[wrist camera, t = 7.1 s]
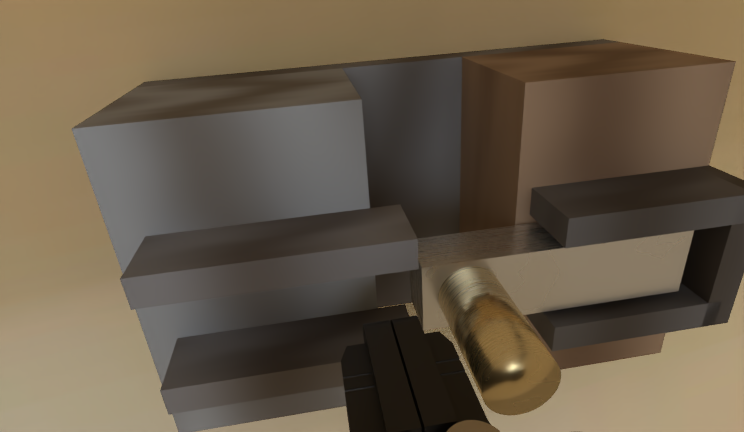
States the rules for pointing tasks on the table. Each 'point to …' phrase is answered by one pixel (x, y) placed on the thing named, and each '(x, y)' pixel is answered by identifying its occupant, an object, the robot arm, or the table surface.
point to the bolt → (528, 297)
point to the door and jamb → (398, 204)
